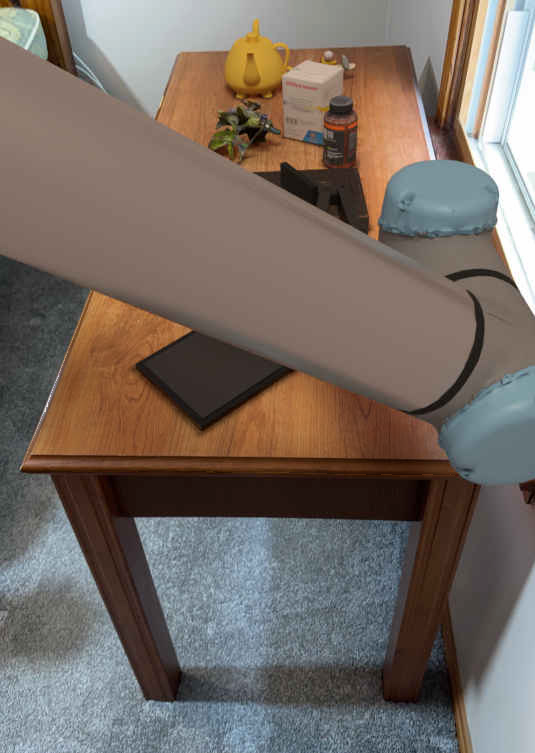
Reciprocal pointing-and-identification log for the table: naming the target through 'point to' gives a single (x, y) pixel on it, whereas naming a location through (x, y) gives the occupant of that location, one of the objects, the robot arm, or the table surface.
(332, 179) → the dark brown flat block
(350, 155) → the supplement bottle
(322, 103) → the ink box
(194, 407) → the tablet
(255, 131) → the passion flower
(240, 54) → the teapot
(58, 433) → the table surface
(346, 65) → the toy airplane
